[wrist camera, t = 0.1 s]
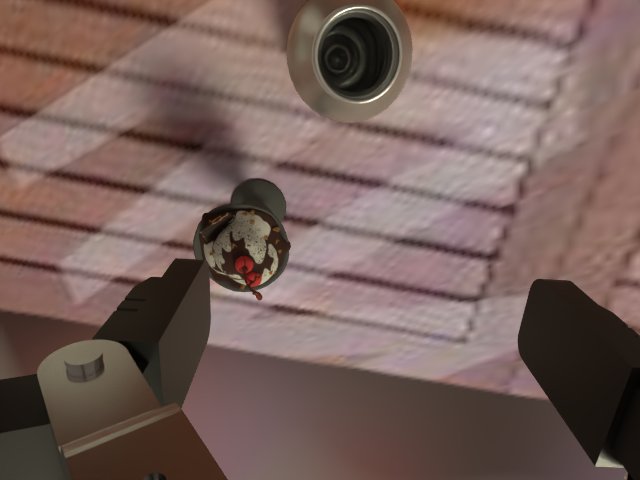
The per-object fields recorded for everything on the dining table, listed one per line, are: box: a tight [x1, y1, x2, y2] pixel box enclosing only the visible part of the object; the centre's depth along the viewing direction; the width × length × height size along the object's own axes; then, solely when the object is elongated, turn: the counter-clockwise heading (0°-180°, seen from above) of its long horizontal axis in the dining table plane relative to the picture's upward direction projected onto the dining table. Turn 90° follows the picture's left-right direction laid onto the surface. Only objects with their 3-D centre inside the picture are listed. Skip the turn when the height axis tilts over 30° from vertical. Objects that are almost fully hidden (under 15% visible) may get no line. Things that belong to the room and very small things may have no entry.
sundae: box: [193, 180, 291, 300], centre depth 34 cm, size 7×7×15 cm
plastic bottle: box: [287, 0, 413, 122], centre depth 27 cm, size 6×7×20 cm
